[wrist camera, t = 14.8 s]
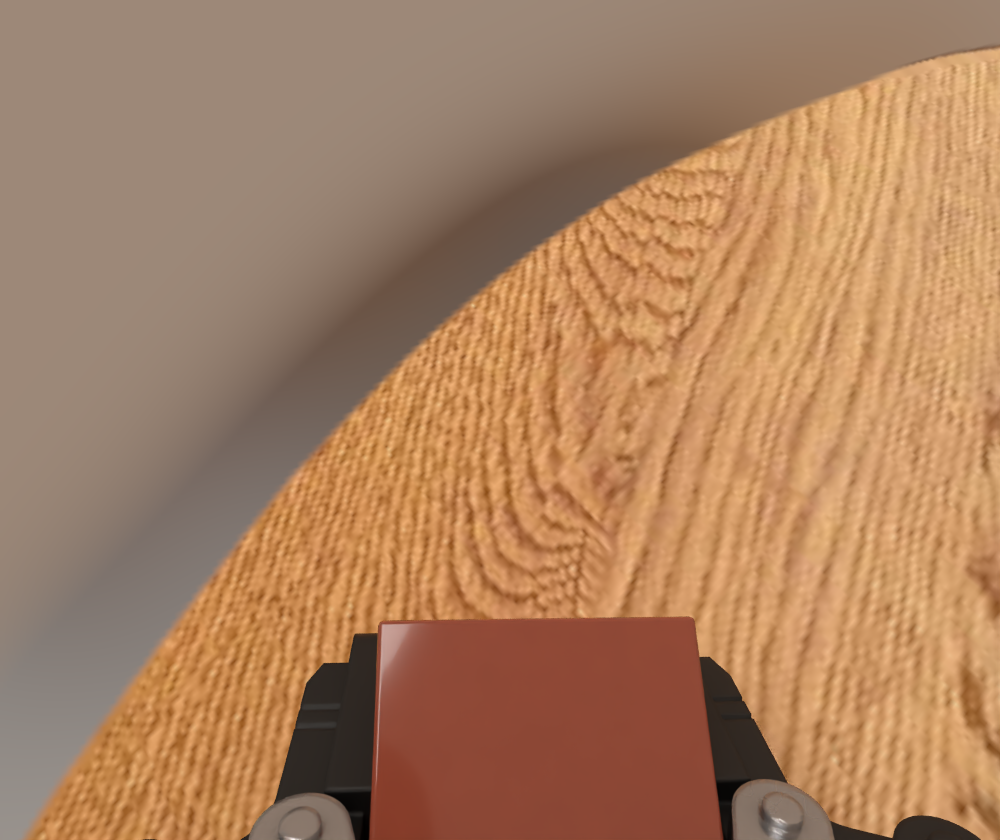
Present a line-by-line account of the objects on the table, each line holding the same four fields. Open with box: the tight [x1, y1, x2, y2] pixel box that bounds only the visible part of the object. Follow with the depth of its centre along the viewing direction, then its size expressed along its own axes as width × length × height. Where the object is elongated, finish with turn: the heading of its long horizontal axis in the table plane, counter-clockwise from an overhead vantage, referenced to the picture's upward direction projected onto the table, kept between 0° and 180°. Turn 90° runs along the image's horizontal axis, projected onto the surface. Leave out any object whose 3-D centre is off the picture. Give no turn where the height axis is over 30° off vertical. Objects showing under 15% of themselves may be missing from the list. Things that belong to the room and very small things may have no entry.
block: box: [369, 617, 724, 840], centre depth 13 cm, size 4×4×8 cm
